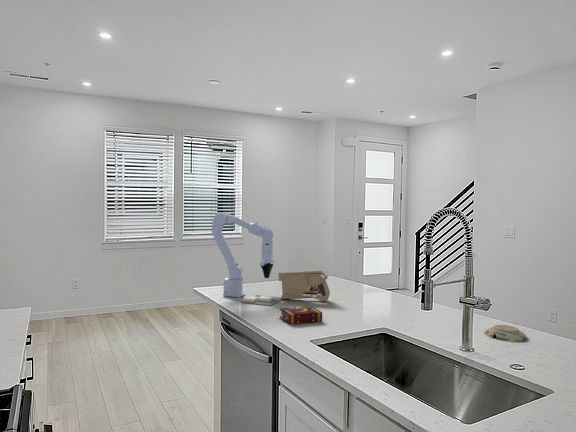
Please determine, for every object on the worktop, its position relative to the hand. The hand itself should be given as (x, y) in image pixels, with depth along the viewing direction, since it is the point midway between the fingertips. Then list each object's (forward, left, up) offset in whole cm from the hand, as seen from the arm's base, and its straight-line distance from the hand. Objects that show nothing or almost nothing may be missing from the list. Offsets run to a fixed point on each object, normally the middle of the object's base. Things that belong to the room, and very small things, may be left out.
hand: (266, 277), depth 232 cm
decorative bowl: (+110, -28, -10) cm, 114 cm away
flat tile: (-2, -16, -9) cm, 18 cm away
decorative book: (+31, -38, -10) cm, 50 cm away
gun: (+21, -2, -9) cm, 23 cm away
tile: (+4, -9, -8) cm, 13 cm away
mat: (+3, -11, -9) cm, 15 cm away
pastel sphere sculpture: (+14, +25, -10) cm, 30 cm away
